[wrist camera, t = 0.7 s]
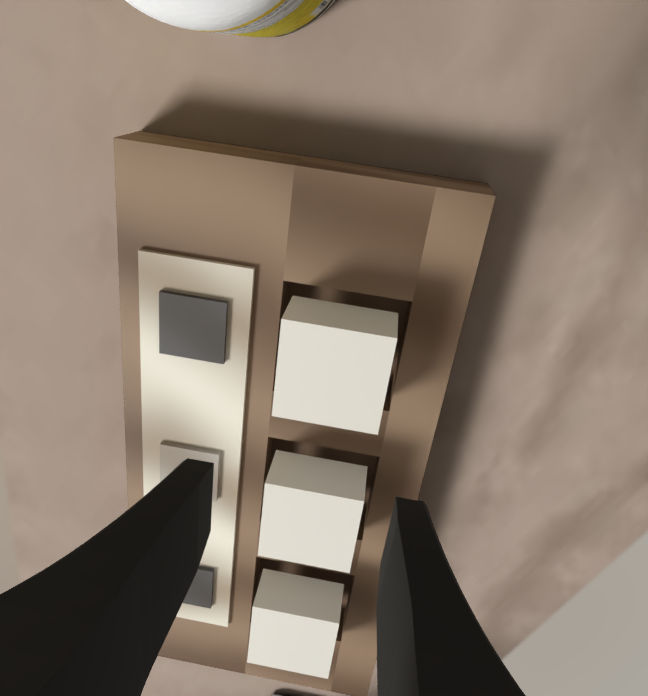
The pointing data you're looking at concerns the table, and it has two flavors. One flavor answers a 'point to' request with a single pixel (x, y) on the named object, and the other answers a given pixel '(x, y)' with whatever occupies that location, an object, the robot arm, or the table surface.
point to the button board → (262, 351)
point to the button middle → (312, 510)
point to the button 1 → (295, 623)
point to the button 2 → (334, 364)
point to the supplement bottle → (236, 15)
